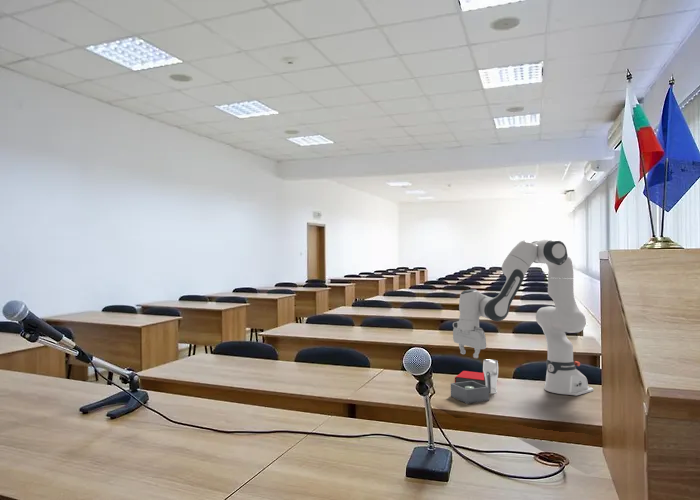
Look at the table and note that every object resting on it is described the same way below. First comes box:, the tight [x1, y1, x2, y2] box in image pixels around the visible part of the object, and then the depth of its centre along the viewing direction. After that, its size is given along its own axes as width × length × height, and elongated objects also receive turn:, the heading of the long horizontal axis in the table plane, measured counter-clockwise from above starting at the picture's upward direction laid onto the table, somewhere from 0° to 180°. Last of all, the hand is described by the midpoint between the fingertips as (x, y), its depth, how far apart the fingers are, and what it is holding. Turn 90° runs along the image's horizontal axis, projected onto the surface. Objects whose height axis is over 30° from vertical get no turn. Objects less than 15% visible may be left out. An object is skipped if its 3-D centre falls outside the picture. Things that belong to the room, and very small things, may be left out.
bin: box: [450, 381, 490, 405], centre depth 216 cm, size 12×12×6 cm
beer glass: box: [482, 358, 499, 394], centre depth 225 cm, size 7×7×15 cm
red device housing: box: [454, 370, 485, 385], centre depth 240 cm, size 18×14×5 cm
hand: (469, 355), depth 216 cm, fingers open, 8 cm apart
